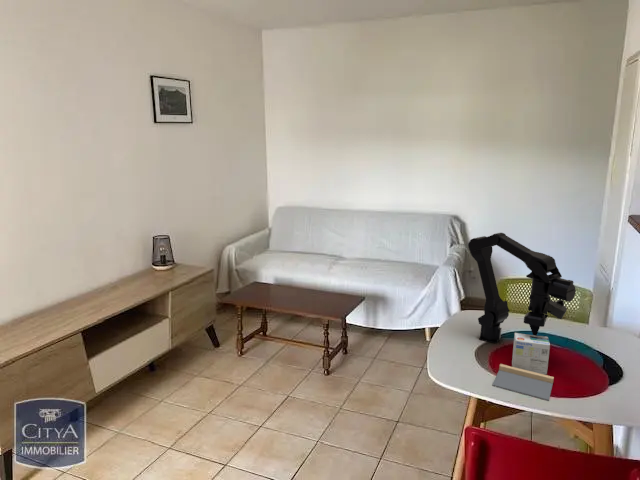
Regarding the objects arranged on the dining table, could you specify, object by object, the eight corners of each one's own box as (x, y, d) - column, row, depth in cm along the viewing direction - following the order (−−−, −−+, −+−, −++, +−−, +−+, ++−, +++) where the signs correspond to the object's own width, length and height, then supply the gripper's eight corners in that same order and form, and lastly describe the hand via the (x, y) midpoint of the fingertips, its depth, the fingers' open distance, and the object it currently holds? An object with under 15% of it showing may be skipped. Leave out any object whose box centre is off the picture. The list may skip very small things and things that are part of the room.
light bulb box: (545, 365, 159) (548, 336, 156) (547, 375, 153) (551, 344, 150) (510, 360, 162) (514, 331, 160) (511, 370, 156) (515, 340, 153)
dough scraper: (492, 385, 146) (492, 380, 146) (499, 369, 156) (500, 363, 156) (548, 400, 138) (549, 395, 138) (553, 382, 148) (553, 376, 148)
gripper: (564, 306, 147) (558, 351, 151) (568, 288, 163) (563, 330, 167) (525, 299, 153) (520, 343, 157) (534, 283, 169) (529, 323, 172)
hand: (534, 335), depth 163 cm, fingers closed
